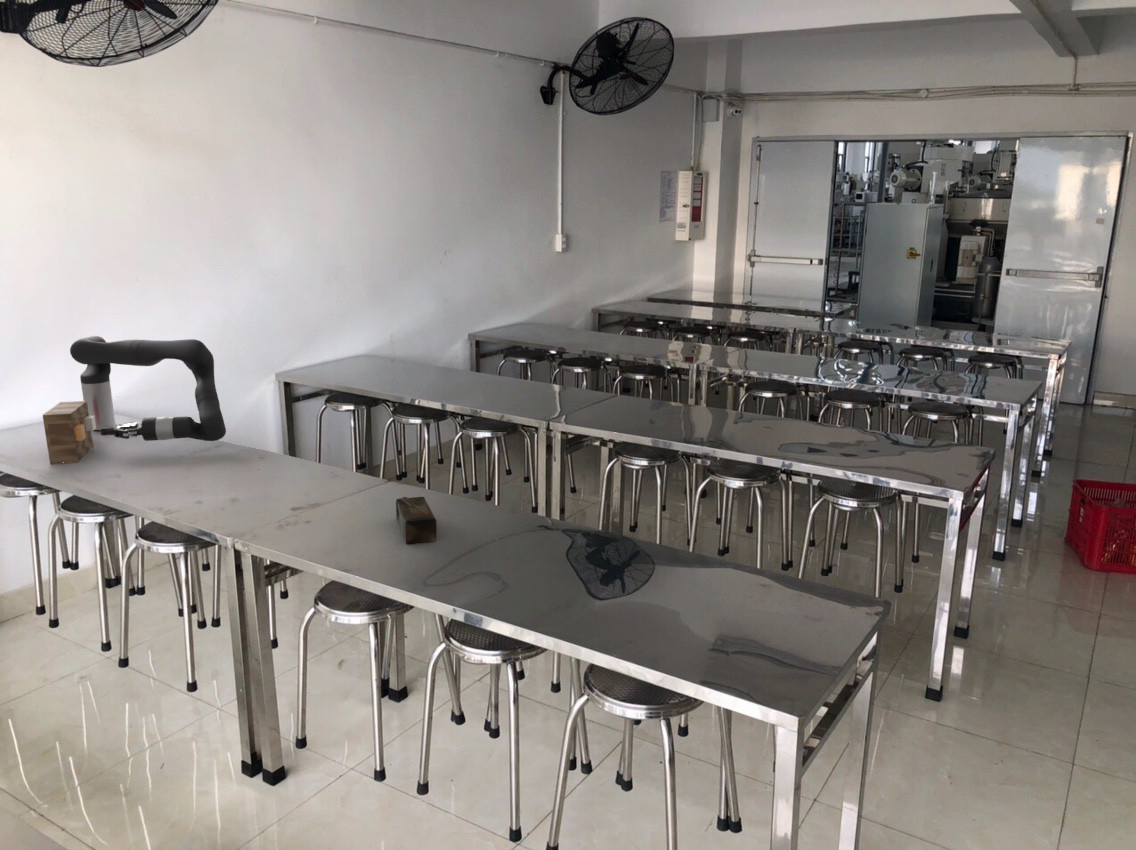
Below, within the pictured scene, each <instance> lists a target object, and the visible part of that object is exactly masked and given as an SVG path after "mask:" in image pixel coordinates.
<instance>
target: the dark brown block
mask: <svg viewBox="0 0 1136 850" xmlns="http://www.w3.org/2000/svg"><path fill="white" fill-rule="evenodd" d="M395 514H396V521H397V523H398V526H399V529H400V532H401V535H402V538H403V540H404V542H405V544H406V545H411V544H421V543H423V544H424V543H435V542H436V541H437V529H438V528H437V519H436V517H435V515H434V513H433V511H432V509H431V507H430V506H429V504H428V501H427V500H426V498H425V496H415V497H408V496H402V497H401V498H400V497H399V498H396V499H395Z"/></svg>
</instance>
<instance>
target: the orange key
mask: <svg viewBox="0 0 1136 850" xmlns="http://www.w3.org/2000/svg"><path fill="white" fill-rule="evenodd" d="M74 434H75V441H83V440H84V439H85V438H86V434H85V427H84V424H81V425H75V426H74Z"/></svg>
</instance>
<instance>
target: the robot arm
mask: <svg viewBox="0 0 1136 850" xmlns="http://www.w3.org/2000/svg"><path fill="white" fill-rule="evenodd" d="M69 352H70V354H69V355H71V358H72V359H73V360H74V361H75V362H77V363H78V364H82V365H86V368H85V370H84V371H83V372H82V373H81V374H80V385H81V391H82V401H87V405H88V412H89V416H95V423H96V429H95V430H99V432H100V435H101V436H114V437H115V438H120V439H125V440H128V439H130V438H137V437H138V436H142V440H144V441H145V442H151V441H153V442H154V441H168V440H174V439H194V440H199V441H203V442H204V441H206V442H215V441H219V440H221V439H223V438H224V437H225V436H226V433H227V429H226V425H225V421H224V417H223V414H222V410H221V404H220V400H219V395H218V392H217V388H216V381H215V380H216V379H215V359H214V355H213V353H212V352H211V351H210V349H209V348H208V347H207V346H206V344H204V343H203V342H202V341H201V340H199V339H196V338H195V339H192V338H191V339H177V340H176V339H175V340H153V339H152V340H151V339H135V338H134V339H125V340H124V339H123V340H116V341H110V342H109V341H108V342H107V340H105V339H104V337H102V336H98V335H91V336H86V337H83V338H79V339H77V340H75V341H74V342H73V343H72V344H71V346H70V348H69ZM168 359H169V360H179V361H181V362H182V363H183V364H184V365H185V366H186V367H187V368H188V370H190V371H191V372H192V375H193V376H194V379H195V382H196V387H195V389H194V398H195V403H196V408H197V411H198V417H199V422H196V421H195V420H194V419H193V417H191V416H155V417H153V416H152V417H143V418H142V420H141V423H138V422H137V421H132V422H126V423H121V424H118V425H116V418H115V410H114V409H115V408H114V403H113V402H114V401H113V396H112V395H113V394H112V388H111V387H112V386H111V382H110V381H111V380H110V379H111V378H110V375H111V371H112V368H111V367H112V365H111V364H114V365H122V366H123V365H124V366H135V367H153V366H155V365H157V364H159V363H160V362H162V361H164V360H168Z"/></svg>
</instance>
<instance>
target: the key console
mask: <svg viewBox="0 0 1136 850" xmlns="http://www.w3.org/2000/svg"><path fill="white" fill-rule="evenodd" d="M85 416H89V412H88V405H87V401H84V400H82V401H80V400H79V401H60V402H58V403H57V404H56V405H54V406H53V407H52V408H50V409H49V410H48V411H46V412H45V413H43V414H42V419H43V426H44V434H45V440H46V445H47V446H46V447H47V452H48V453H47V454H48V459H49V464H50V463H61V464H67V463H66V462H78V461H79V460H80V459H81V458H82V457H83V456H84V455H85V454H86V453H87V452H88V451H89V450H90V449H91V448H92V447H93V448H94V444H93V443H94V442H93V435H92V431H86V426H85V419H84V417H85ZM81 424H84V427H85V434H86V438H85V439H84V440H83V441H75V434H74V426H75V425H81ZM93 448H92V449H93ZM92 449H91V450H92ZM91 450H90V451H91ZM90 451H89V452H90ZM89 452H88V453H89ZM88 453H87V454H88ZM87 454H86V455H87ZM86 455H85V456H86ZM85 456H84V457H85ZM84 457H83V458H84ZM83 458H82V459H83ZM82 459H81V460H82ZM81 460H80V461H81ZM80 461H79V462H80ZM63 462H64V463H63ZM79 462H78V463H79Z"/></svg>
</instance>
